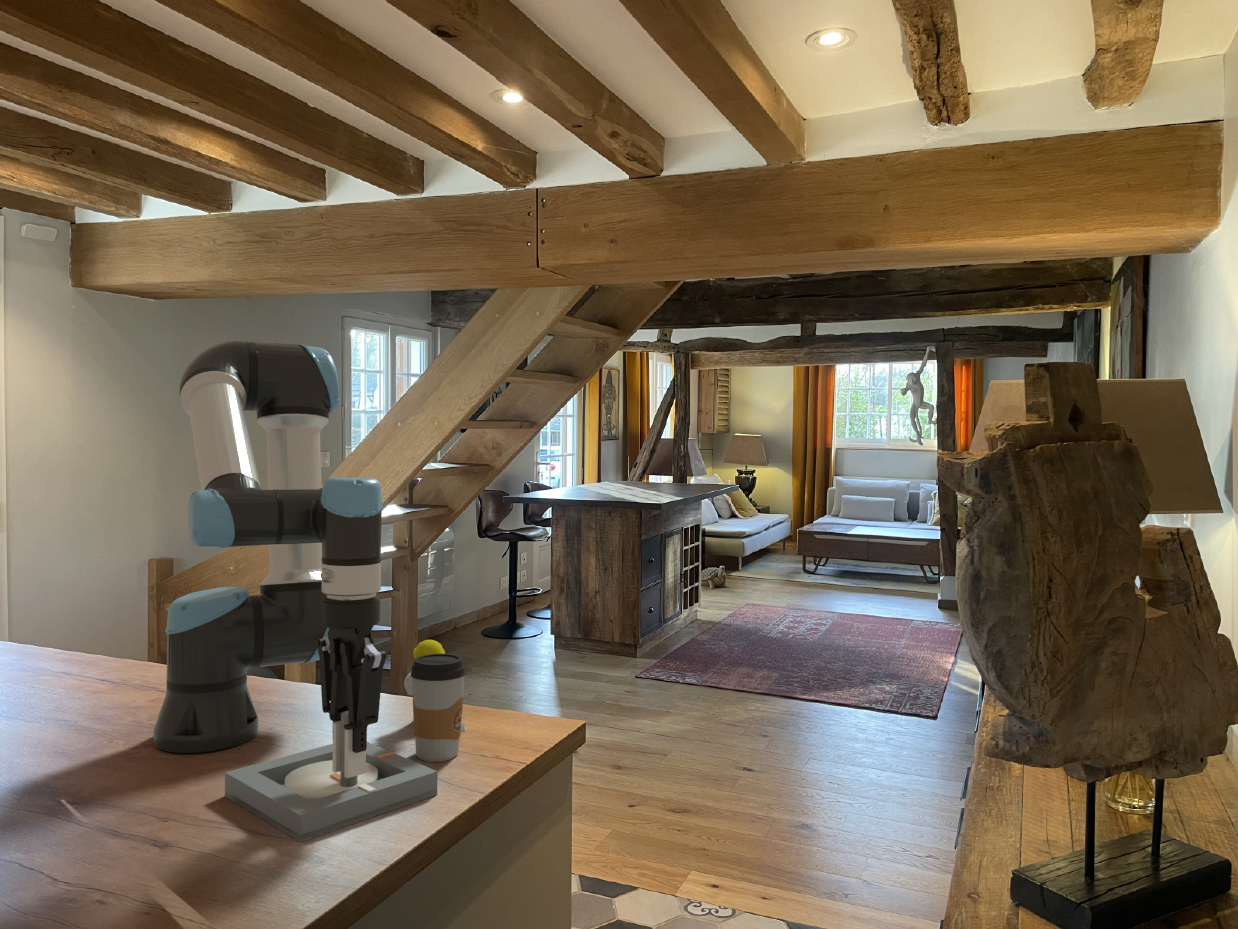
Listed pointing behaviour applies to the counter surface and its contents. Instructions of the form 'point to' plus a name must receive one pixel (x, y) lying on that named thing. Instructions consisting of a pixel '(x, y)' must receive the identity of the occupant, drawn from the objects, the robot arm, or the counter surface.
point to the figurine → (425, 649)
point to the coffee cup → (437, 705)
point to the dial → (327, 775)
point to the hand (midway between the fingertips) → (349, 771)
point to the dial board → (308, 819)
